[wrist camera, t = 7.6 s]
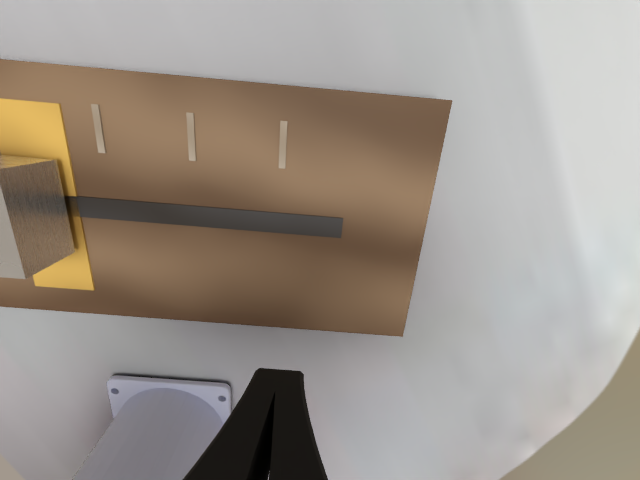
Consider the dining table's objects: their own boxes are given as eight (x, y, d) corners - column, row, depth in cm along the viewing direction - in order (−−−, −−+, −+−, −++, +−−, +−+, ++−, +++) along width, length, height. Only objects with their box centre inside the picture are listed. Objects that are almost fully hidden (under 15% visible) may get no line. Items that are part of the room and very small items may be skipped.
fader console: (395, 315, 20) (403, 337, 18) (-42, 282, 19) (-83, 301, 17) (436, 102, 15) (453, 100, 14) (-123, 51, 15) (-191, 41, 13)
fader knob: (75, 252, 16) (23, 280, 13) (11, 247, 16) (-53, 274, 13) (56, 159, 14) (-7, 170, 11) (-14, 153, 14) (-94, 162, 11)
